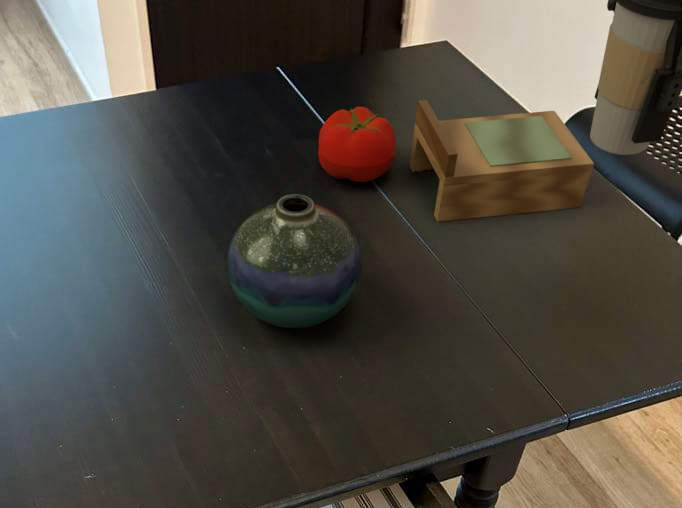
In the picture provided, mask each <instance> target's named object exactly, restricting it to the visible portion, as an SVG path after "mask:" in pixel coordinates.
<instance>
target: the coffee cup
mask: <svg viewBox="0 0 682 508" xmlns="http://www.w3.org/2000/svg"><path fill="white" fill-rule="evenodd" d="M615 1H616V7H615V12H613V16H614V17H612V22H611V24H610V25H609V30H608V35H607V39H606V44H605V49H604V55H603V60H602V63H601V64H602V65H601V69H600V74H599V79H598V83H599V84H597V87H598V90H599V92H598V97H597V100H596V102H595V107H594V111H593V117H592V123H591V127H590V133H589V139H590V141H591V143H593V145H594V146H596V147H597V148H599V149H600V150H602V151H604V152H607V153H609V154H614V155H620V156H630V155H636V154H639V153H641V152H643V151H646V150H647V148H649V146H650V144H651V142H645V143H636V144H634V142H633V141H632V140H631V139H632V136H633V133H634V130H635V127H636V125H637V122H638V119H639V116H640V113H641V110H642V107H643V105H644V102H645V99H646V96H647V93H648V90H649V88H650V85H651V82H652V79H653V76H654V73H655V69H662V68H663V64H664V57H665V50H666V42H667V39H668V36H669V34H670V32H671V29H672V27H673V24H674V22H675V21H682V7H679V3H680V0H615ZM681 1H682V0H681ZM678 57H679V56H678ZM678 57H677V60H678Z"/></svg>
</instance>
